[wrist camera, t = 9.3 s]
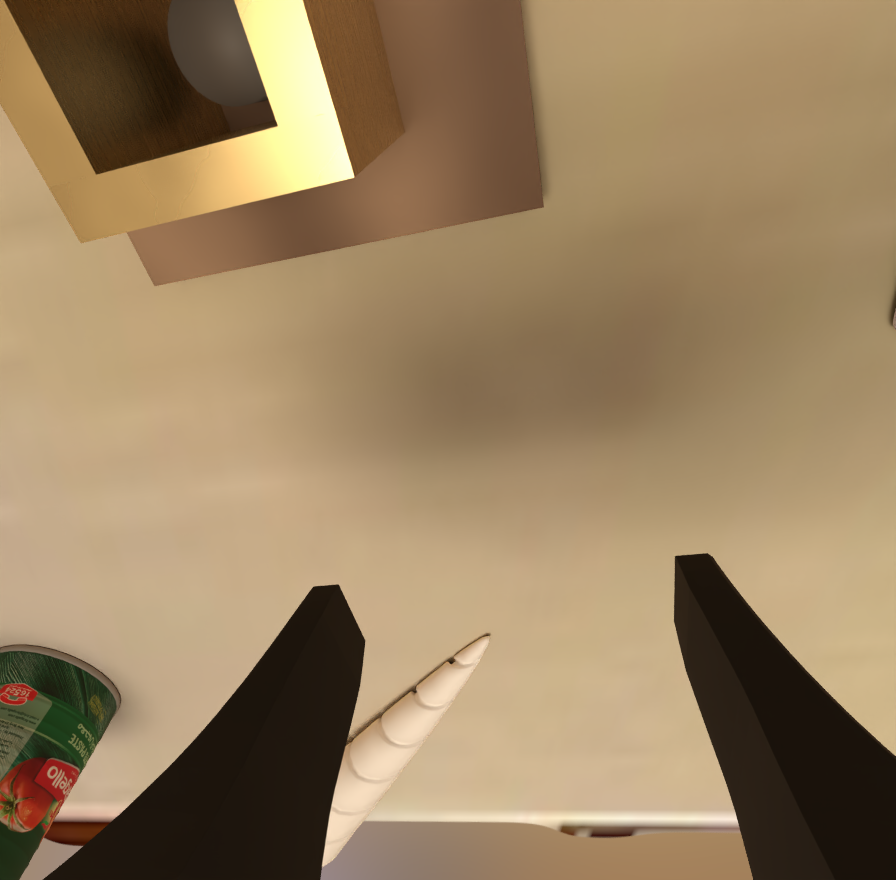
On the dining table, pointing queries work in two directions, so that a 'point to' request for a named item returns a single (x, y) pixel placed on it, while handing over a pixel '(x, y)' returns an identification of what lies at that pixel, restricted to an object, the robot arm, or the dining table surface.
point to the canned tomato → (44, 741)
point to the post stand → (397, 168)
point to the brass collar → (189, 107)
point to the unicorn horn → (392, 746)
